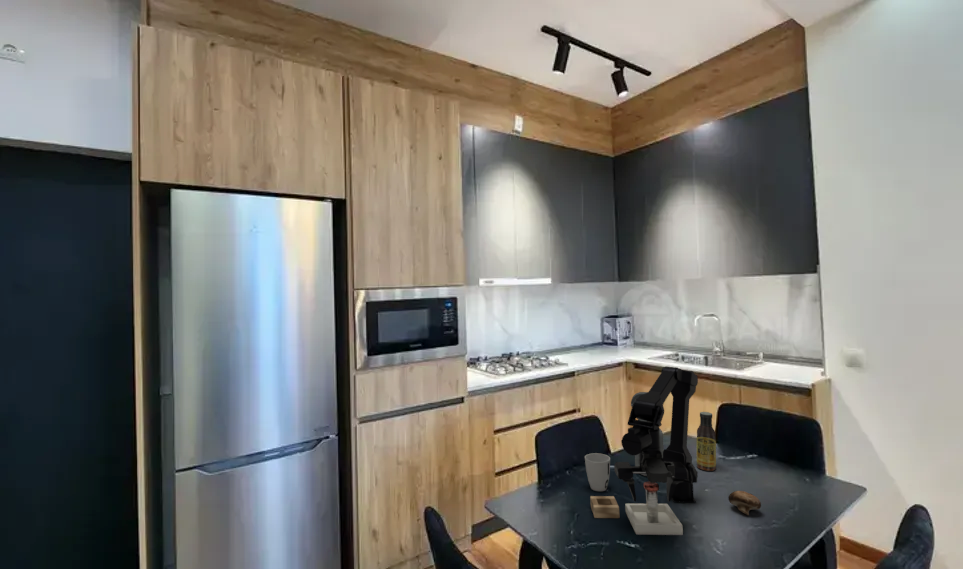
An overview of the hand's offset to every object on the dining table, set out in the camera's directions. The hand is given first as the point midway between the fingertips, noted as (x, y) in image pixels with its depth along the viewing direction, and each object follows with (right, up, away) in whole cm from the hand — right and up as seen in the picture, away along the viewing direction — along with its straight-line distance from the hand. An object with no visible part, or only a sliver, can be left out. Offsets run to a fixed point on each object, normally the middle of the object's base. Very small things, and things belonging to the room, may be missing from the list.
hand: (651, 501), depth 123 cm
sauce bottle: (+33, -6, +35) cm, 49 cm away
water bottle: (+12, -7, +34) cm, 37 cm away
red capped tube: (0, -5, 0) cm, 5 cm away
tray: (0, -6, 0) cm, 6 cm away
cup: (-9, -7, +23) cm, 25 cm away
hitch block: (-11, -7, +7) cm, 15 cm away
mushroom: (+29, -5, +4) cm, 30 cm away
